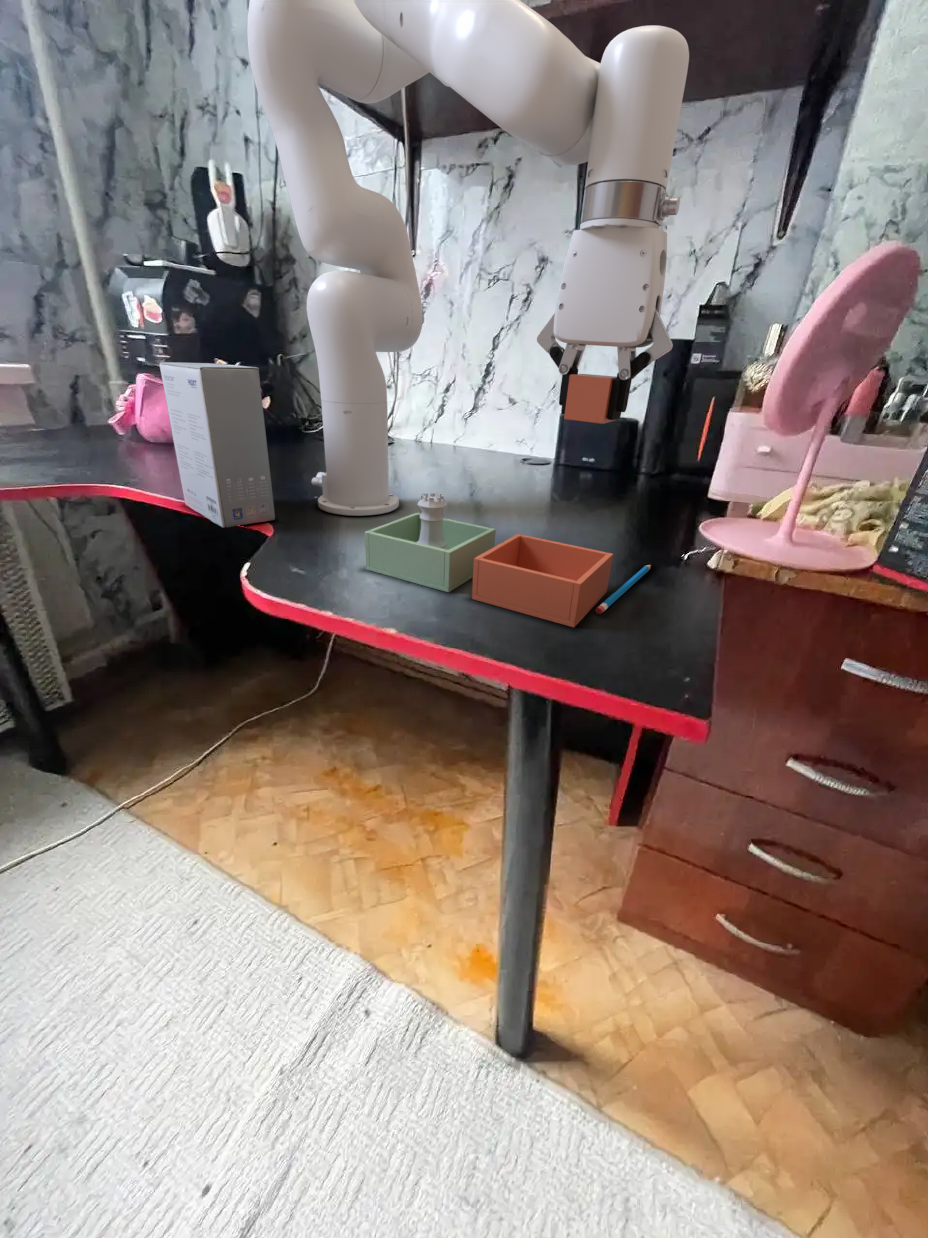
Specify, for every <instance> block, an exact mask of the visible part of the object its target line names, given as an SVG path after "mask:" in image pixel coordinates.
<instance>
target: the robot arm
mask: <svg viewBox="0 0 928 1238" xmlns="http://www.w3.org/2000/svg"><path fill="white" fill-rule="evenodd" d="M247 10H248V12H247V23H246V24H247V26H246V28H247V29H246V30H247V31H246V33H247V35H246V37H247V49H248V50H247V51H248V58H249V64H250V68H251V73H252V77H253V81H254V85H255V88H256V92H257V94H258V97H259V101H260V103H261V106H262V109H263V111H264V114H265V117H266V119H267V122H268V124H269V128H270V130H271V133H272V136H273V139H274V142H275V146H276V150H277V153H278V156H279V162H280V166H281V171H282V175H283V179H284V182H285V187H286V189H287V195H288V198H289V202H290V206H291V209H292V214H293V217H294V221H295V226H296V229H297V232H298V236H299V238H300V241H301V244H302V246H303V249H304V250H305V252H306V253H307V254H308V256H309V257H311V258H312V259H314V260H316V261H318V262H320V263H323V264H327V265H331V266H335V267H339V268H346V269H351V270H356V271H359V272H356V271H351V270H339V269H337V270H331V271H327V272H323V273H322V274H321V275H319V276H318V277H317V278H315V280H314V281H313V282H312V283H311V285H310V287H309V289H308V292H307V297H306V315H307V321H308V327H309V330H310V333H311V334H310V335H311V338H312V343H313V346H314V350H315V357H316V361H317V370H318V379H319V393H320V402H321V403H320V404H321V416H322V417H321V418H322V431H323V433H322V434H323V448H324V461H325V462H324V463H325V472H324V471H323V472H322V471H319V472H317V473H316V475H315V477H312V478H311V485H312V486H314V487H318V488H321V489H322V495H320V496H319V497H318V498H317V505H318V508H319V509H320V510H322V511H324V512H327V513H330V514H333V515H340V516H351V517H352V516H354V517H363V516H376V515H377V516H378V515H383V514H387V513H390V512H393V511H395V510H397V509H398V508H399V507H400V499H399V497H398V496H397V495H396V494H393V493H391V492H390V480H389V479H390V475H389V474H390V473H389V471H390V469H389V465H390V464H389V423H388V422H389V418H388V417H389V415H388V414H389V413H388V389H387V381H386V376H385V373H384V370H383V368H382V367H383V366H382V364H381V363H380V360H379V358H378V355H377V353H400V352H405V351H407V350H409V349H411V348H412V347H413V346H414V345H415V344H416V343H417V341H418V340H419V338H420V336H421V333H422V328H423V321H424V316H423V315H424V314H423V313H424V312H423V303H422V297H421V292H420V287H419V282H418V277H417V273H416V267H415V261H414V257H413V253H412V247H411V243H410V237H409V234H408V230H407V227H406V223H405V221H404V218H403V216H402V215H401V213H400V211H399V209H398V208H397V206H396V205H395V204H394V203H393V202H392V201H391V199H389V198H388V197H387V196H385V195H383V194H381V193H379V192H377V191H374V190H371V189H368V188H365V187H363V186H362V185H360V184H359V183H358V182H357V181H356V179H355V178H354V175H353V173H352V169H351V166H350V162H349V158H348V154H347V149H346V144H345V140H344V136H343V132H342V131H341V128H340V125H339V122H338V121H337V119H336V117H335V115H334V112H333V111H332V109H331V107H330V105H329V104H328V102H327V100H326V98H325V96H324V95H323V92H322V91H321V89H320V86H319V84H321V85H323V86H324V87H326V88H329V89H331V90H332V91H334V92H337V93H339V94H341V95H342V96H345V97H347V98H349V99H351V100H353V101H355V102H357V103H361V104H375V103H380V102H381V101H384V100H386V99H388V98H390V97H391V96H393V95H394V94H396V93H397V92H400V91H401V90H402V89H404V88H405V87H407V86H408V85H411V84H412V83H415V82H416V81H418V80H420V79H421V78H423V77H424V76H427V74H431V75H432V76H434V78H435V79H437V80H438V81H439V82H440V83H442V85H444V86H445V87H449V88H451V89H452V90H453V91H454V92H455V93H457V94H458V95H459V96H461V98H463V99H464V100H465V101H467V102H468V103H469V104H471V106H473V107H474V108H476V110H478V111H479V112H480V113H482V114H483V115H484V116H486V117H487V118H488V119H489V120H491V122H493V123H494V124H495V125H497V126H498V127H499V128H500V129H502V131H505V132H507V134H509V135H511V136H512V137H514V138H515V139H517V140H518V141H521V142H522V143H524V144H525V145H527V146H529V147H531V148H533V149H534V150H536V151H537V152H538V153H539V154H542V155H543V156H544V157H546V158H548V159H549V160H551V161H553V162H554V163H556V164H559V165H562V166H576V165H581V164H584V163H585V164H586V163H587V168H586V173H585V174H586V175H585V183H584V184H585V185H584V190H583V191H584V192H583V193H584V194H583V199H582V208H581V215H580V224H579V229H574V230H573V233H572V235H571V238H570V241H569V245H568V248H567V252H566V256H565V258H564V259H565V260H564V263H563V267H562V271H561V276H560V281H559V286H558V291H557V298H556V304H555V311H554V313H553V314H552V316H551V317H550V319H549V320H548V321H547V323H546V324H545V325H544V327H543V328H542V329H541V331H540V332H539V333H538V335H537V337H536V342H537V343H538V345H539V346H540V347H541V348H542V349H543V350H544V351H545V352H546V353H547V354H548V355H549V357H550V358H551V360H552V361H553V363H554V364H555V366H556V367H557V368H558V372H559V374H560V375H561V382H560V389H559V397H558V405H559V406H561V408H560V409H561V410H560V414H561V415H564V416H565V408H566V401H567V393H568V385H569V378H570V375H572V374H579V366H580V363H581V361H582V358H583V356H584V352H585V350H586V347H587V346H599V347H616V350H617V368H618V370H617V371H618V372H617V373H616V377H617V379H614V380H613V383H612V389H611V395H610V401H609V407H608V413H607V418H608V420H615V421H616V420H619V419H621V416H622V413H626V411H627V408H628V403H629V397H630V392H631V387H632V380H634V379H635V378H636V377H637V375H639V373H642V371H643V370H645V369H646V368H647V367H648V366H649V365H651V364H652V363H653V362H654V361H656V360H658V359H660V358H661V357H663V356H664V355H666V354H668V353H669V352H670V351H672V349H673V347H674V344H673V341H672V339H671V336H670V334H669V333H668V331H667V328H666V326H665V324H664V322H663V320H662V318H661V313H662V306H663V305H662V304H663V298H664V289H665V282H666V281H665V280H666V273H667V259H668V258H667V257H668V233H667V232H666V231H665V230H663V229H660V227H662V226H663V222H664V221H665V219H666V218H669V217H670V216H677V215H678V213H679V209H680V202H681V197H680V196H672V195H669V194H668V192H667V188H668V181H669V176H670V171H671V165H672V159H673V155H674V154H673V153H674V149H675V143H676V138H677V132H678V126H679V121H680V115H681V111H682V105H683V98H684V92H685V88H686V81H687V75H688V70H689V64H690V63H689V62H690V50H689V45H688V42H687V40H686V38H685V36H683V34H682V33H681V32H679V31H678V30H676V29H673V28H672V27H668V26H663V25H657V24H656V25H653V24H652V25H641V26H637V27H632V28H628V29H626V30H624V31H621V32H620V33H619V34H617V35H616V36H614V37H613V38H612V40H610V41H609V43H608V44H607V46H606V47H605V49H604V51H603V54H602V56H601V60H600V62H598V61H596V60H594V59H592V58H590V57H588V56H586V55H585V54H584V53H583V52H582V51H581V50H580V49H579V48H578V47H577V46H576V45H575V44H574V43H573V42H572V41H571V40H570V39H569V38H568V37H567V36H566V35H565V34H564V33H563V32H562V31H560V30H559V28H558V27H556V26H555V25H554V24H552V23H551V22H550V21H549V20H548V19H547V18H545V17H543V16H542V15H541V14H539V13H538V12H537V11H535V10H534V9H532V8H531V7H530V6H528V5H527V4H526V3H524V2H523V1H522V0H249V4H248V9H247ZM558 341H559V342H561V343H565V344H566V345H565V347H563V346H562V345H560V344H559V342H558ZM650 345H651V346H650ZM648 346H650V347H649V348H647V349H645V350H644V351H642V352H641V353H639V354H638V355H637V349H639V348H645V347H648Z"/></svg>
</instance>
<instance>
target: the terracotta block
mask: <svg viewBox="0 0 928 1238" xmlns="http://www.w3.org/2000/svg"><path fill="white" fill-rule="evenodd" d="M614 379H617V376H614V375H613V376H612V375H604V374H603V375H601V374H590V373H578V374H572V375H570V378H569V385H568V393H567V401H566V408H565V415H564V416H563V419H564V420H567V421H575V422H584V423H591V424H592V423H593V424H599V425H605V424H609V423H612V422H616V420H608V418H607V413H608V407H609V401H610V395H611V389H612V383H613V380H614Z"/></svg>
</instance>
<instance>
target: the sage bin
mask: <svg viewBox="0 0 928 1238" xmlns="http://www.w3.org/2000/svg"><path fill="white" fill-rule="evenodd" d="M421 514H422V512H415V513H412V514H409V515H406V516H404V517H401V518H398V519H396V520H393V521H391V522H388V523H385V524H382V525H379V526H377V527H374V528H371V529H368V530H366V531H364V548H365V549H364V550H365V551H364V552H365V570H366V571H370V572H374V573H378V574H381V575H385V576H388V577H391V578H395V579H399V580H402V581H406V582H409V583H414V584H417V585H421V586H423V587H428V588H432V589H435V590H439V591H442V592H445V593H450V592H453V590H455V589H457V588H458V587H460V586H462V585H463V584H465V583H467V582H468V581H470V580H472V579H473V569H474V558H476V557H477V556H479V555H481V554H483V553H484V552H486V551H488V550H490V549H492V548H493V547H495V546H496V532H497V531H496V528H492V527H488V526H483V525H479V524H474V523H469V522H464V521H460V520H454V519H449V518H446V517H444V519H443V523H442V526H443V535H444V540H445V542H446V546H447V547H448V548H449V550H446V549H442V548H438V547H434V546H429V545H425V544H421V543H417V541H419V538H420V532H421V519H420V515H421Z"/></svg>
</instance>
